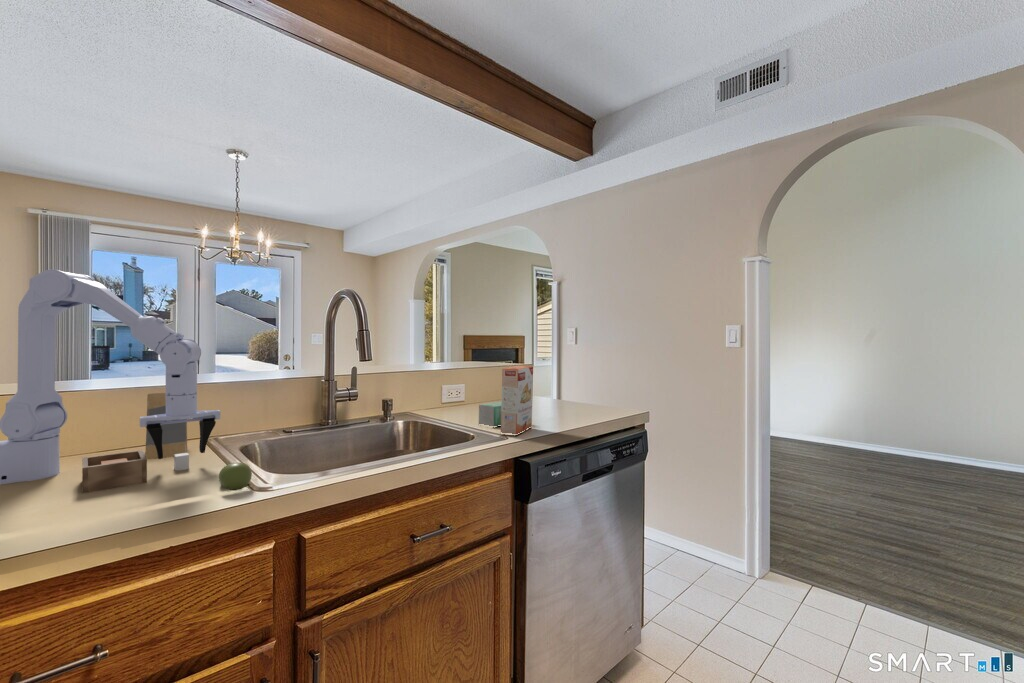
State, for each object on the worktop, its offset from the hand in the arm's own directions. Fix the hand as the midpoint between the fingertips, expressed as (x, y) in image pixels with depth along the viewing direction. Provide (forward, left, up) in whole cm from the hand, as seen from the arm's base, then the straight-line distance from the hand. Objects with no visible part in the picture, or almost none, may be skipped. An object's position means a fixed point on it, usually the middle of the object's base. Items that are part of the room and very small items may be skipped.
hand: (181, 454), depth 104 cm
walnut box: (-11, -2, -4) cm, 12 cm away
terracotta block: (-11, -2, -3) cm, 12 cm away
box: (+90, -4, -4) cm, 90 cm away
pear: (+7, -18, -4) cm, 19 cm away
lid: (0, 0, -4) cm, 4 cm away
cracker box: (+87, -17, -4) cm, 88 cm away
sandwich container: (-1, +20, -4) cm, 20 cm away
